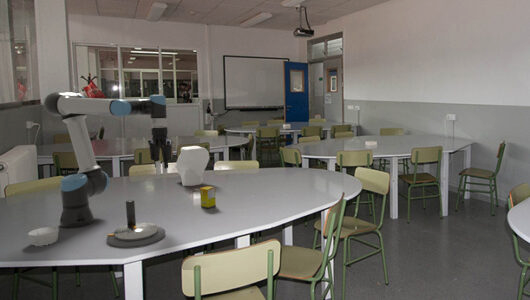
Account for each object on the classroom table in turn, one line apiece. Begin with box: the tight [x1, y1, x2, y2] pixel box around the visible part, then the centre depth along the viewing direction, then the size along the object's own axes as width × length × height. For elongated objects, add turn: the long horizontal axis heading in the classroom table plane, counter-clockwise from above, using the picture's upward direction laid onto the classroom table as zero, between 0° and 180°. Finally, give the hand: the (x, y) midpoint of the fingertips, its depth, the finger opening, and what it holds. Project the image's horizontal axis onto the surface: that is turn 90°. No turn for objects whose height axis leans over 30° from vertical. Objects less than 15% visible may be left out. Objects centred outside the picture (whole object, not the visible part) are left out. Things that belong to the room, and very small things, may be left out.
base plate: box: [106, 226, 166, 249], centre depth 169 cm, size 24×24×2 cm
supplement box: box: [199, 185, 217, 210], centre depth 214 cm, size 6×6×11 cm
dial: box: [113, 199, 159, 241], centre depth 168 cm, size 18×18×13 cm
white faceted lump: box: [174, 145, 211, 187], centre depth 278 cm, size 21×27×26 cm
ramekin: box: [27, 226, 60, 247], centre depth 165 cm, size 11×11×5 cm
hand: (161, 174), depth 192 cm, fingers open, 3 cm apart
